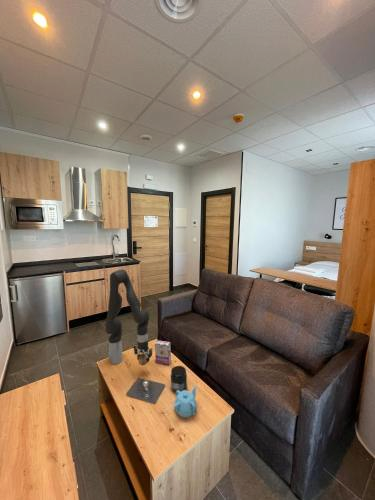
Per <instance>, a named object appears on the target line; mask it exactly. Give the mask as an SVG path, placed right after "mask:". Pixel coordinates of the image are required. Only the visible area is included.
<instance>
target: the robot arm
mask: <svg viewBox="0 0 375 500" xmlns="http://www.w3.org/2000/svg"><path fill="white" fill-rule="evenodd" d="M131 281H132V280H131V279H130V276H129V274H128V272H127V271H126V270H125V269H119V270H118V269H117V270H116V271H113V272H111V273H110V275H109V299H108V306H107V317H106V319H105V324H104V326H105V327H104V330H105V333H106V334H107V335H109V336H108V348H109V349H108V362H109V363H110V364H112V365H118V364H120V363H122V361H123V358H124V357H123V343H122V336H123V331H122V330H123V329H122V328H123V327H122V326H123V325H122V321H121V320H120V318H116V317H117V315H118V314H119V313H120V311H121V309H122V306H123V297H122V295H121V293H120V292H119V286H120V284H123V285H124V287H125V292H126V293H125V295H126V296H125V298H126V302H127V304H128V306H129V307H130V309H131V313H132V317H133V320H134V321H135V323H136V324H137V326H136V334H137V335H136V344H134V346H133V353H134V355H136V357H137V358H136V360H137V361H139V355H140V354H142V353H144V354H145V355H146V357H147V358H146V359H147V364H148V363H149V362H150V358H151V357H152V356H153V349H154V348H152V347H149V334H148V325H149V320H150V313H149V311H148V310H146V309H142V310H140V308H141V306H142V304H141V302H140V300H139V298H138V296H137V293H136V292H135V290H134V287H133V284H132V282H131ZM147 354H148V355H147Z"/></svg>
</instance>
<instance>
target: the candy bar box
mask: <svg viewBox="0 0 375 500" xmlns="http://www.w3.org/2000/svg"><path fill="white" fill-rule="evenodd" d="M154 355H155V364H159V365H165V366H170V364H171V363H172V350H171V342H170V341H166V340H165V341H163V340H160V339H159V340H156V341H155V342H154Z"/></svg>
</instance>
